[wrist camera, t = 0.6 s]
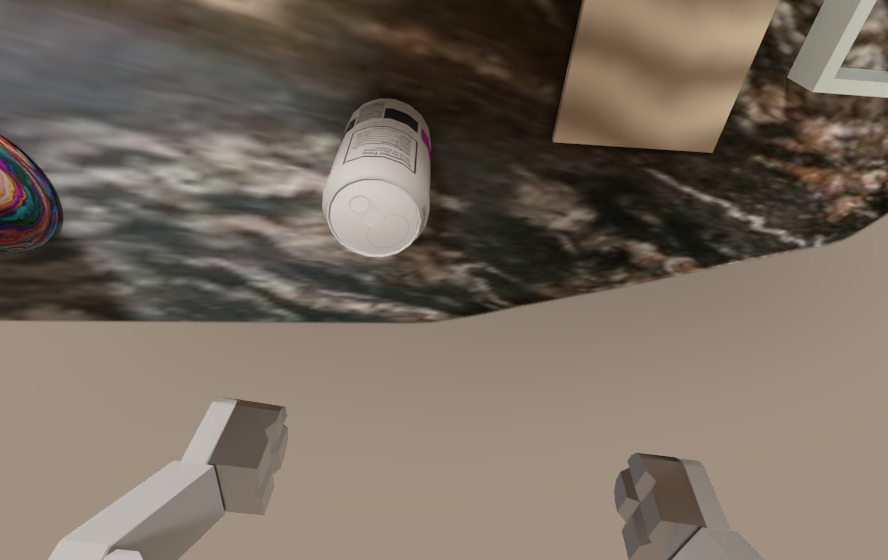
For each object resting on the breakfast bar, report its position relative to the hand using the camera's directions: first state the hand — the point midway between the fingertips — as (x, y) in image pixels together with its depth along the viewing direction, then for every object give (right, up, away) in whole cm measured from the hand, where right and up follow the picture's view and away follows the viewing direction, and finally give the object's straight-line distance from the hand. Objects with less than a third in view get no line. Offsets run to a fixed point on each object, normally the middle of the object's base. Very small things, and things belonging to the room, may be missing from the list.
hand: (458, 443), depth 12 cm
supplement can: (-6, +18, +37) cm, 42 cm away
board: (+19, +24, +33) cm, 45 cm away
